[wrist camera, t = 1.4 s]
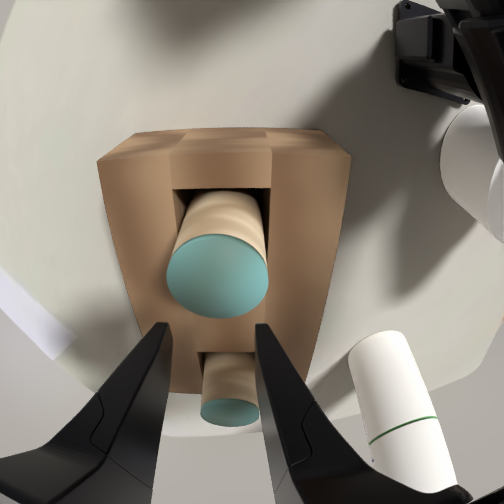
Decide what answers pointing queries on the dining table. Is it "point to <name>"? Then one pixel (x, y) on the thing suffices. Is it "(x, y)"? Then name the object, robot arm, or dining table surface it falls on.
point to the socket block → (273, 220)
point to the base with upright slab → (474, 169)
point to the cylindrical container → (399, 414)
